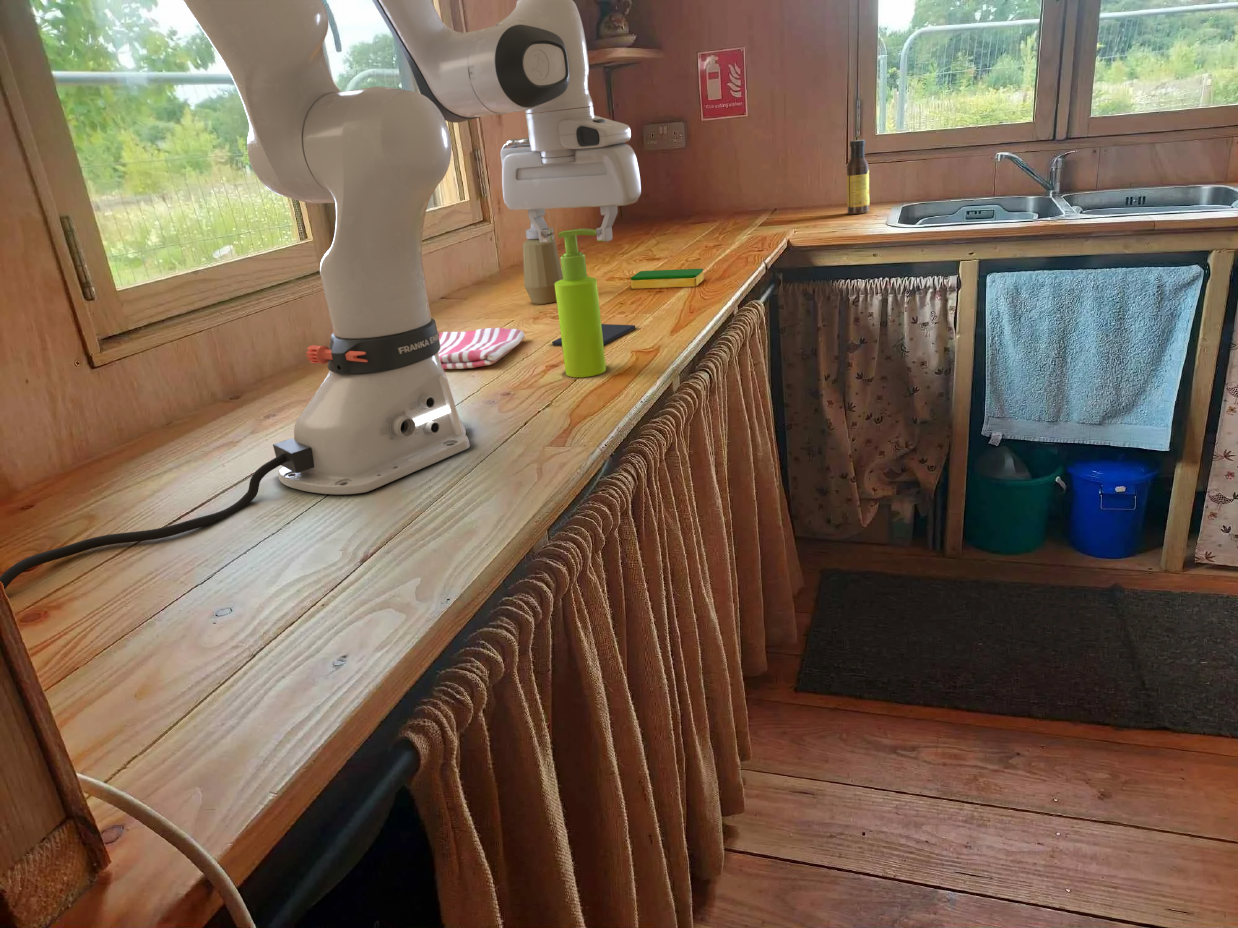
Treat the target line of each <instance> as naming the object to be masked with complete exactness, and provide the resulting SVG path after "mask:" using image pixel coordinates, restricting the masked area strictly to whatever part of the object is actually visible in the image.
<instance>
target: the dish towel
mask: <svg viewBox="0 0 1238 928" xmlns="http://www.w3.org/2000/svg"><path fill="white" fill-rule="evenodd" d="M524 338H525V333H524V331H523V330H520V329H517V328H505V327H486V328H477V329H475V330H465V331H443V332H439V341H440V346H441V349H440V350H439V352H438V354H439V358H440V361H441V365H442V368H443V370H455V369H460V370H463V369H474V368H479V367H485V366H490V365H493V364H496V363H497V362H498V361H499V360H500V359H501V358H503V357H504V356H506V355H507V354H508V353H510V352H511V351H512V350H513V349H515V348H516V347H518V346H519V344H520V343H521V341H524Z"/></svg>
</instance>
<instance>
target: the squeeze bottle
mask: <svg viewBox="0 0 1238 928" xmlns="http://www.w3.org/2000/svg"><path fill="white" fill-rule="evenodd" d="M525 237H526V239H527V240H525V241H524V242H523V244H522V255H523V256H522V261H523V285H524V288H525V290H526V293H527V295H528V297H529V299H530V301H531V303H532V304H536V305H537V304H538V305H546V304H552V303H555V302H556V303H557V300H556V292H555V282H557V281H559V280H562V279H563V275H562V267H561V260H560V256H559V252H558V247H557V243H556V240H555V239H554V241H552V242H548V243H540V241H539V236H538V230H536V228H535V227H534V225H533V223H532V222H531V221H530V228H528V229H526V230H525Z"/></svg>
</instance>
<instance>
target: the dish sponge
mask: <svg viewBox="0 0 1238 928" xmlns="http://www.w3.org/2000/svg"><path fill="white" fill-rule="evenodd" d="M704 277H705V275H704V269H703V268H682V269H681V268H680V269H679V268H678V269H677V268H676V269H657V270H656V269H655V270H640V271H638V272H636V273H635V274H634V275H632V276H631V277H630V287H631V289H632V290H640V289H641V290H643V289H666V288H667V289H668V288H671V289H672V288H695V287H697V286H699V285H700V283H702V282H703V281H704V280H705V278H704Z"/></svg>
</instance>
